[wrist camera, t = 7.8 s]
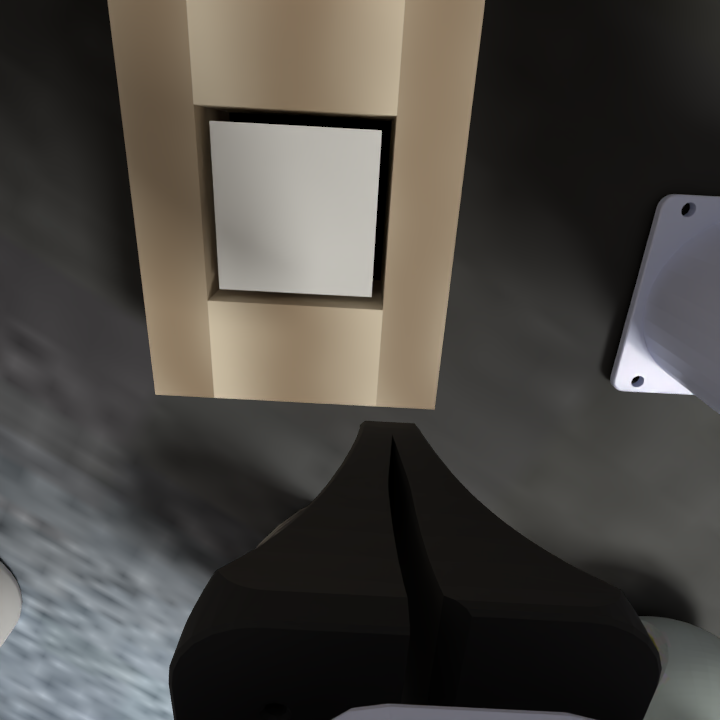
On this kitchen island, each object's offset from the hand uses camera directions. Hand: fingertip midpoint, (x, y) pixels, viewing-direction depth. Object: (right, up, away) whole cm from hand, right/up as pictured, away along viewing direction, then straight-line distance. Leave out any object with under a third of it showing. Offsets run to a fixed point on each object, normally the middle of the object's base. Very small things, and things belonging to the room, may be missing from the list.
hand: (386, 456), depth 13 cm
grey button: (-3, +8, +6) cm, 10 cm away
